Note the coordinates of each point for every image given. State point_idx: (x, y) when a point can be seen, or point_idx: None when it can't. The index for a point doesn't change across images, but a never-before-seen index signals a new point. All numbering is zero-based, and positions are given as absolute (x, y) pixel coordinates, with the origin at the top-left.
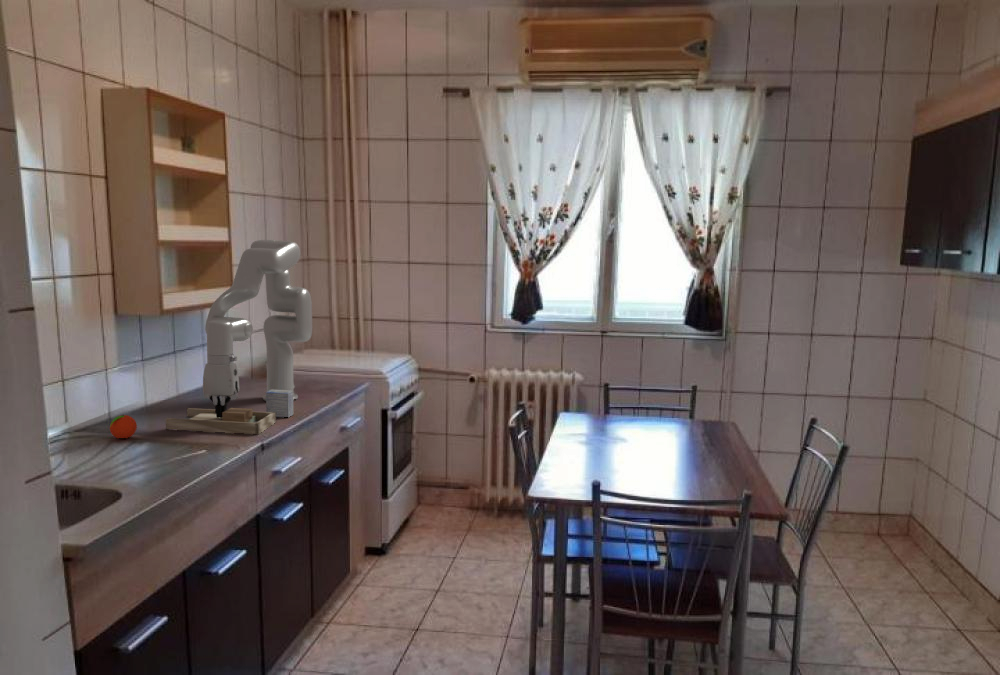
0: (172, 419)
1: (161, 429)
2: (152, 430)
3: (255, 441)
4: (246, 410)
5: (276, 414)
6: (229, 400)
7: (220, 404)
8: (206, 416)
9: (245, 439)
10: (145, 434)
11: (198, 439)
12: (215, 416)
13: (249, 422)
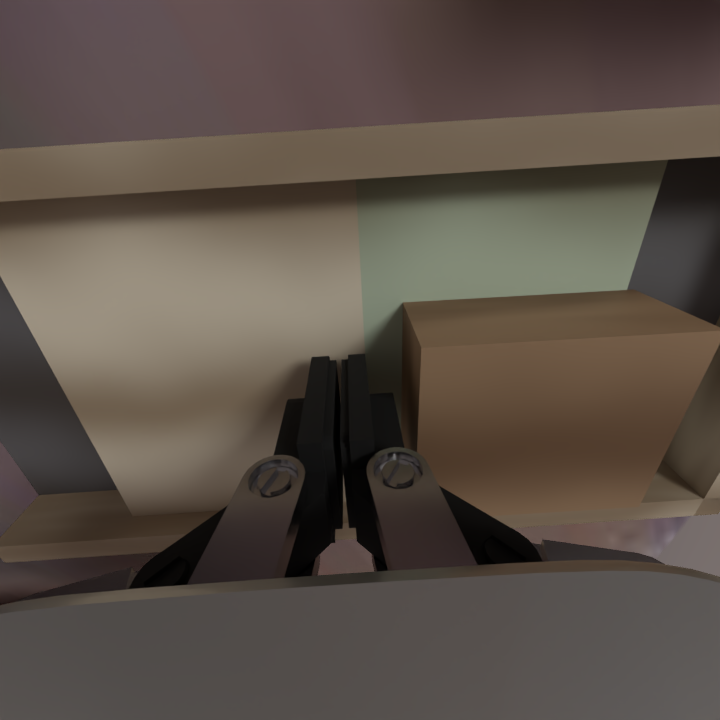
0: (58, 556)
1: (27, 488)
2: (3, 512)
3: (646, 535)
4: (649, 411)
5: None
6: (476, 525)
7: (327, 484)
8: (158, 348)
9: (590, 523)
10: (51, 563)
11: (360, 564)
12: (240, 327)
13: (650, 505)
